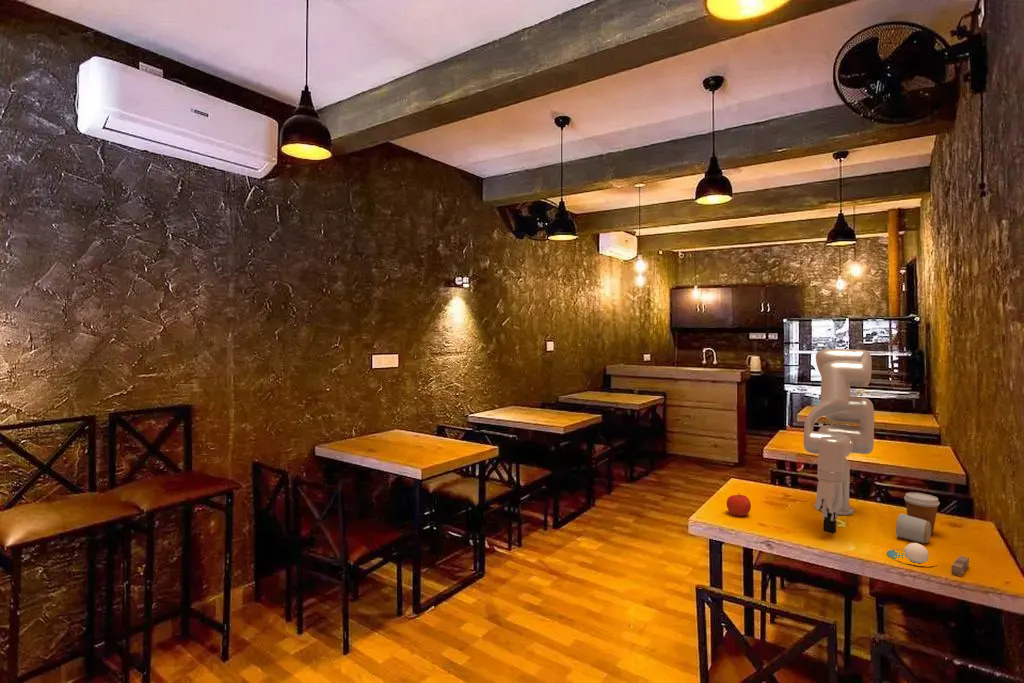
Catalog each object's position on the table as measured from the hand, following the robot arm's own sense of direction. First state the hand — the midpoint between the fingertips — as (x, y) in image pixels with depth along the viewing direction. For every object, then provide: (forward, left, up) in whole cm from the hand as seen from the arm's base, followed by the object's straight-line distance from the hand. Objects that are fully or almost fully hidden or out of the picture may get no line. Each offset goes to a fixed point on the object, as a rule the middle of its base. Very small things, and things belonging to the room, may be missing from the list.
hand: (829, 531), depth 176 cm
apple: (+3, -29, -2) cm, 29 cm away
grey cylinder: (-19, +18, -2) cm, 26 cm away
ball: (+2, +24, +1) cm, 24 cm away
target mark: (0, +22, -2) cm, 22 cm away
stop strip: (-1, +33, -2) cm, 33 cm away
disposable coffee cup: (-28, +18, -2) cm, 33 cm away
